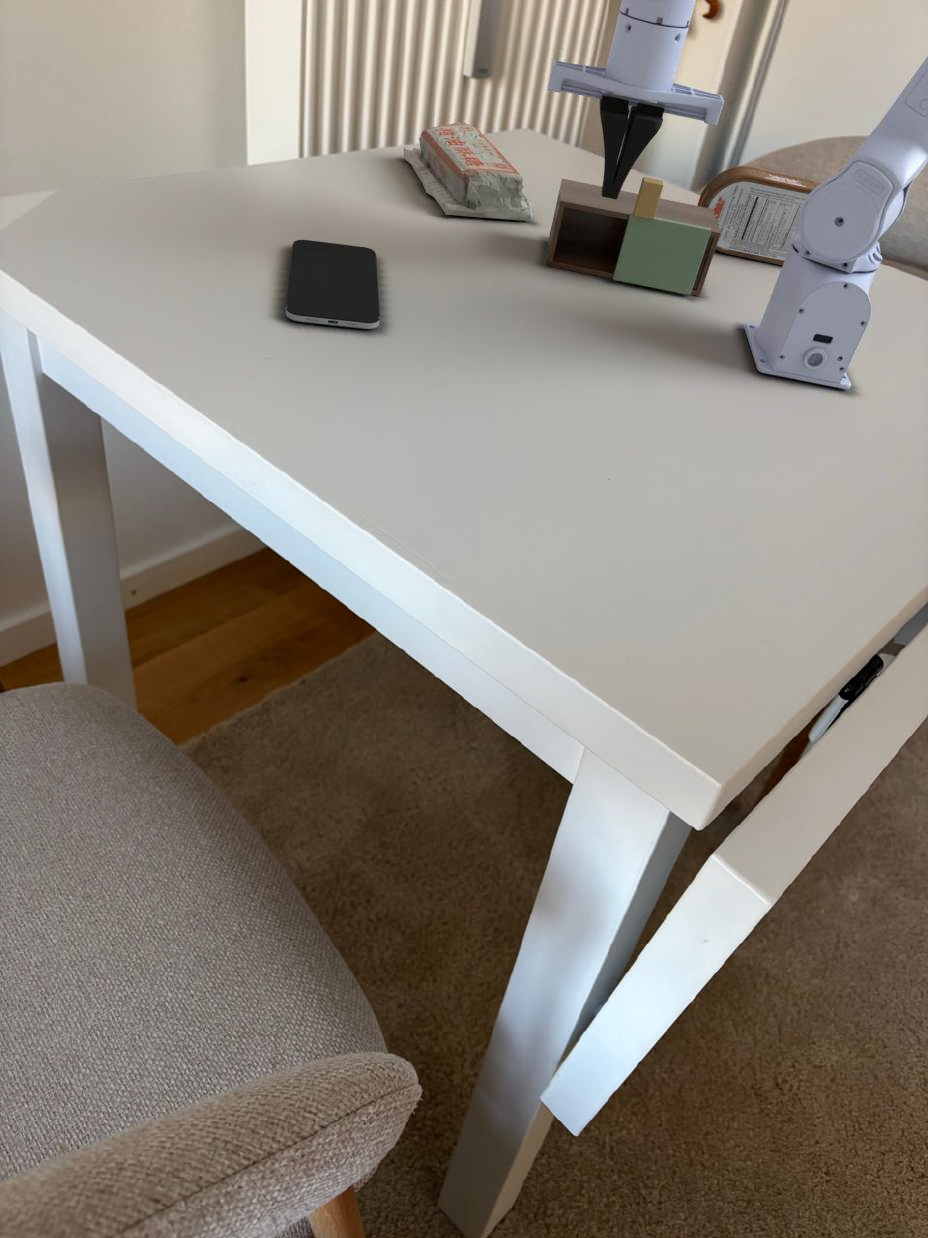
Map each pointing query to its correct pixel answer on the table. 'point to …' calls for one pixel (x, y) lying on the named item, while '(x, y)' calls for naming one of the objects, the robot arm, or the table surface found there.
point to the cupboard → (611, 229)
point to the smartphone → (333, 285)
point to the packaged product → (468, 174)
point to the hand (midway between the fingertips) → (609, 194)
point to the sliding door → (659, 246)
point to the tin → (756, 211)
